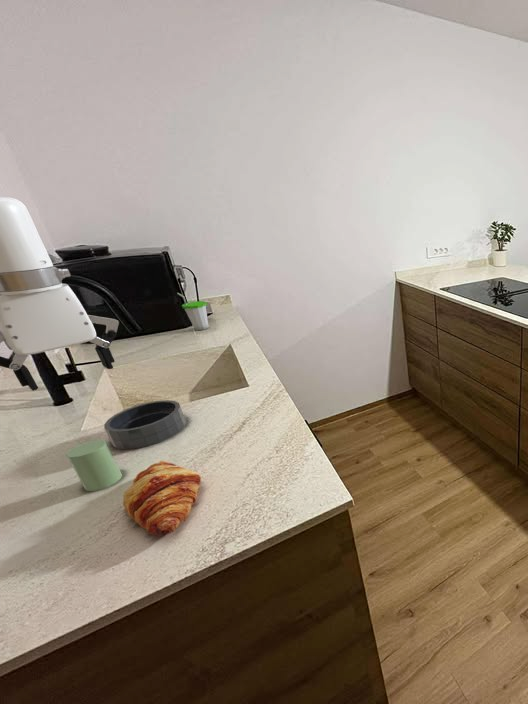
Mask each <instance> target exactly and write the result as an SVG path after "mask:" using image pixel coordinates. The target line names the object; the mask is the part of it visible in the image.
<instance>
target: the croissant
mask: <svg viewBox="0 0 528 704" xmlns="http://www.w3.org/2000/svg"><path fill="white" fill-rule="evenodd" d="M132 482H133V483H132V485H131V486H129V488H128V489H127V490H126V491H125V492H123V493H124V494H123V500H122V505H123V507H124V510H125V511H124V512H125V513H126V514H127V515H128V516H129V517H130V518H131V519H132V520H134V521H135V522H136V523H137V525H139V526H140V527H141V528H143V529H144V530H146V531H147V532H148V533H149V534H150V535H154V536H167V535H170V534H172V533H174V531H175V530H177V529H178V527H179V525H180V524H181V523H182V522H183V521H185V520H186V518H187V517H189V514H190V513H191V510H192V507H193V505H194V504H195V503H196V500H197V496H198V491H199V488H200V485H201V482H202V481H201V475H200V474H199V473H198V472H196V471H193V470H191V469H187V468H185V467H183V466H179V465H176V464H175V463H172V462H168V461H164V460H160V461H159V462H156V463H153V464H151V465H149V467H147V468H146V469H144V470H142V471H140V472H139V473H137V475H136V476H135V478H133V481H132Z"/></svg>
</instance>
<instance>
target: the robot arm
mask: <svg viewBox="0 0 528 704" xmlns="http://www.w3.org/2000/svg"><path fill="white" fill-rule="evenodd" d="M70 277H72V276H71V273H70V271H69V269H68V268H58V267H56V266H54V264H53V261H52V259H51V257H50V255H49V253H48V251H47V249H46V247H45V244H44V242H43V240H42V238H41V236H40V234H39V231H38V229H37V227H36V225H35V223H34V221H33V218H32V216H31V214H30V212H29V210H28V208H27V206H26V205H25V204H24V203H23V202H22V201H20V200H19V199H17V198H14V197H9V196H0V344H1V343H2V342H4V344H5V345H6V347H7V348H8V349H9V350H10V351H11V353H10V355H9V356H8V357H3V356H0V367H2V368H6V369H9V370H12V372H13V374H14V375H15V377H16V379H17V380H18V382H19V384H20V385H21V387H23V388H24V387H28V388H29V389H30V390H31V391H32V392H33V391H34V392H35V391H37V390H38V389H39V386H38V384H37V382H36V381H35V378H34V377H33V376H32V374H31V372H30V370H29V368H28V367H27V366H26V365H25V364H24V363H25V362H26V360H27V358H28V357H29V356H30V355H37V354H41V353H46V352H51V351H54V350H59V349H62V348H63V349H64V348H68V347H71V346H76V345H81V344H84V343H87V342H89V343H92V344H93V345H95V347H94V350H95V352H96V354H97V356H98V359H99V360H100V363H101V365H102V366H103V368H105V369H107V370H113V369H114V366H113V363H116V362H115V358H114V355H113V353H112V351H111V349H110V347H111V344H112V342H113V341H114V339H115V338H116V337H117V332H118V329H119V325H120V321H119V320H117V319H115V318H110V317H103V316H97V315H91V314H88V313H87V311H86V310H85V308H84V306H83V304H82V303H81V301H80V299H79V297H77V295H76V293H74V291H73V289H72V288H71V287H70V286H69V284H67V283H63V280H64V279H66V278H70ZM94 324H96V325H103V326H106V328H105V331H104V332H103V333H102V334H101V336H100V337H99V336H97V331H96V329H95V327H94Z"/></svg>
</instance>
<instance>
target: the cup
mask: <svg viewBox="0 0 528 704" xmlns="http://www.w3.org/2000/svg"><path fill="white" fill-rule="evenodd" d="M176 294H177V296H180V297H181V298H182V299H183V302H184V303H183V304H182V305H181V308H182V309H184V311H185V313H186V315H187V317H188V319H189V320H190V323H191V324H192V327H193V328H194V331H205V330H208V329H210V327H209V320H208V313H207V307H206V306H207V302H206V301H204V300H199V301H198V300H197V301H190V302H187V300H186V298H185V295H183V294H181V293H179V292H177V293H176Z"/></svg>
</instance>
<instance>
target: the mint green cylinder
mask: <svg viewBox="0 0 528 704" xmlns="http://www.w3.org/2000/svg"><path fill="white" fill-rule="evenodd" d="M65 456H66V458H67V460H68V462H69V463H70V465H71V467H72V469H73V471H74V472H75V474H76V476H77V478H78V479H79V481H80V483H81V485H82V486H83V489H85V491H87V492H96V491H100V490H101V491H102V490H103V489H107V488H109V487H111V486H113V485H114V484H116V483H118V482H119V481H120V480H121V478H122V477H123V474H122V471H121V469H120V467H119V465H118V464H117V461H116V460H115V458H114V456H113V454H112V451H111V450H110V448H109V445H108V443H107V441H106V440H104V439H92V440H88V441H85V442H83V443H79V444H78V445H76V446H74V447H72V448H70V449H69V450H68V451H67V452H66V453H65Z"/></svg>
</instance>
